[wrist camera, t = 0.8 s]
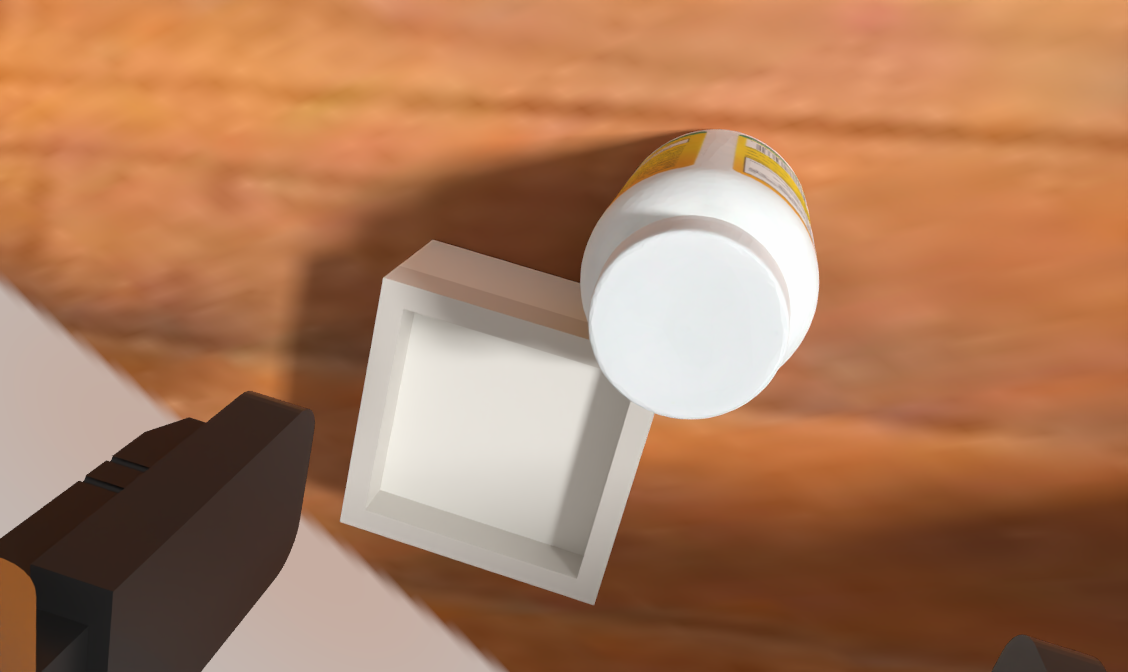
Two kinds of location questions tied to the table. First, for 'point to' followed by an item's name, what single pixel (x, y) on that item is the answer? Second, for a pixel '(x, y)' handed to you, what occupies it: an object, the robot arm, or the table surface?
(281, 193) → the table surface
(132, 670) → the robot arm
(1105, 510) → the table surface
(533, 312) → the grey open box
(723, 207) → the supplement bottle
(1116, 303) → the table surface
